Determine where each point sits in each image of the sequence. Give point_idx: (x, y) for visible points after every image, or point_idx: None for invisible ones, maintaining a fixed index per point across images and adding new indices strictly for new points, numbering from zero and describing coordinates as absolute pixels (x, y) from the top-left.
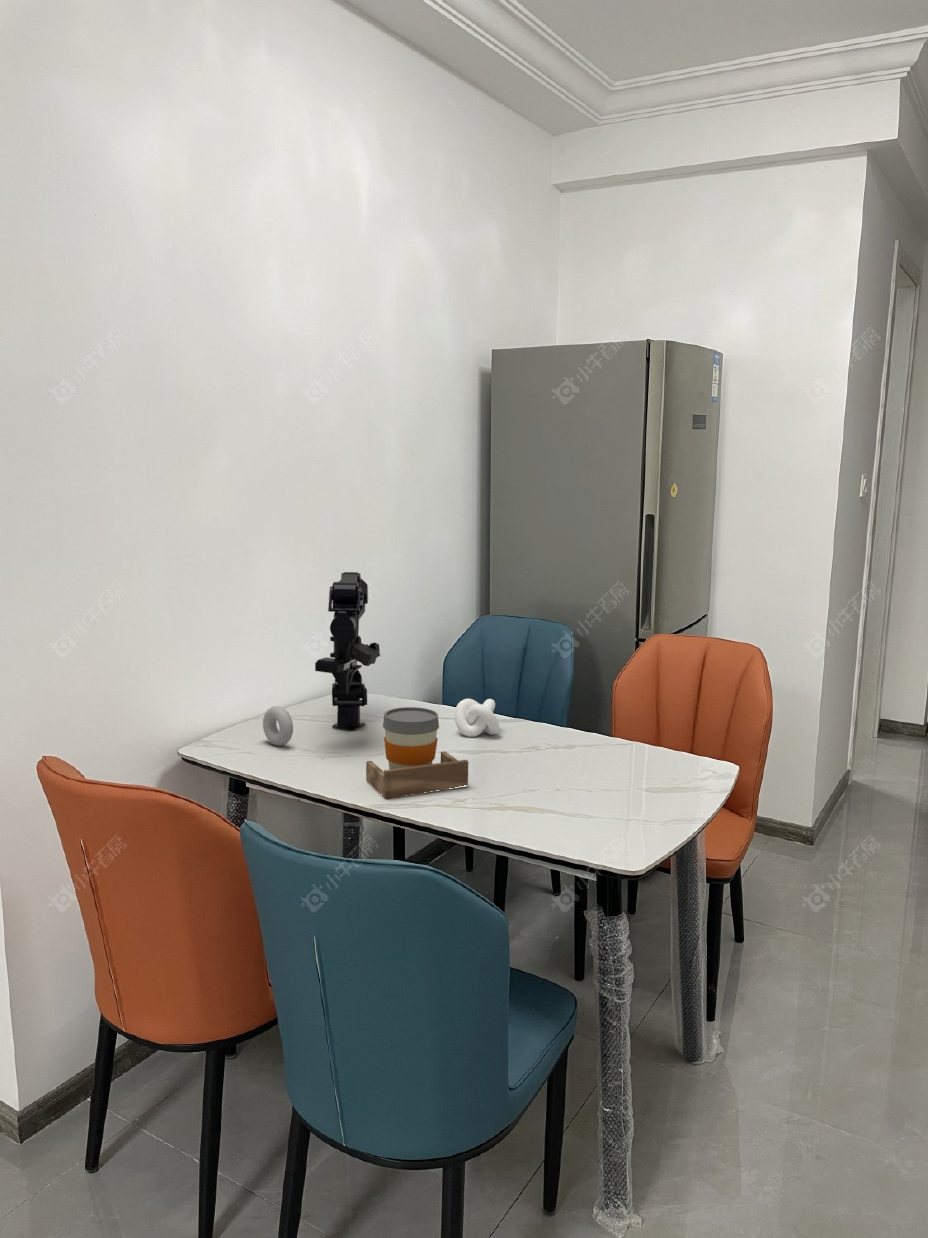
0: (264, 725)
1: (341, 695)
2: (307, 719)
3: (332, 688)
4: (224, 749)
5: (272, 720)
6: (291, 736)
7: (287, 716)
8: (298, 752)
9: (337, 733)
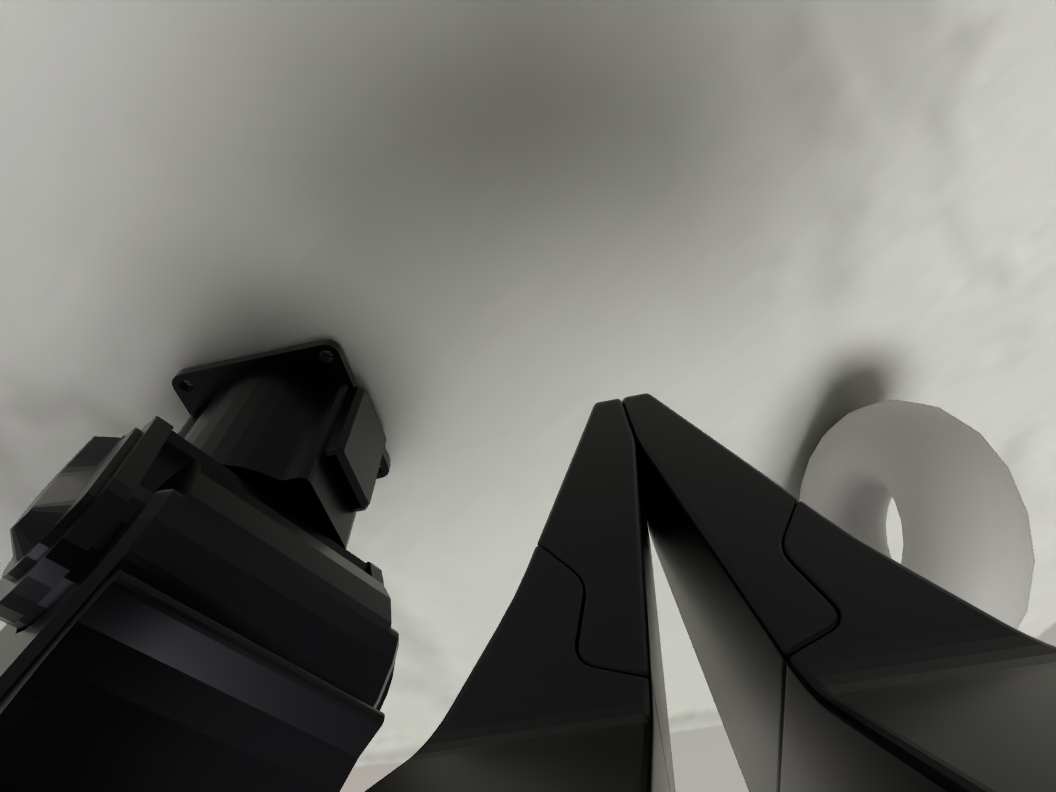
0: None
1: (352, 583)
2: None
3: (380, 699)
4: None
5: None
6: (891, 408)
7: (1009, 521)
8: (904, 282)
9: (441, 378)
